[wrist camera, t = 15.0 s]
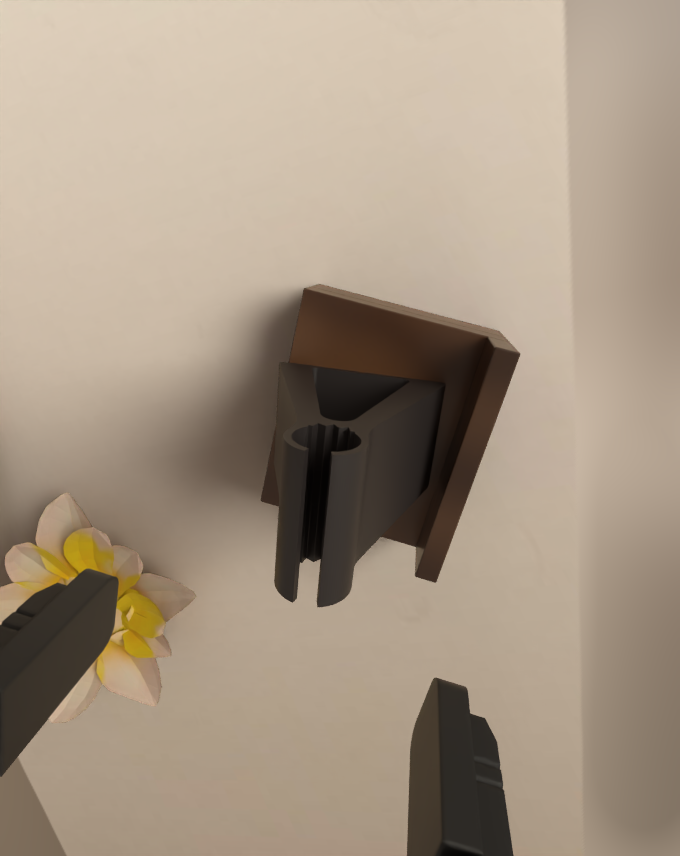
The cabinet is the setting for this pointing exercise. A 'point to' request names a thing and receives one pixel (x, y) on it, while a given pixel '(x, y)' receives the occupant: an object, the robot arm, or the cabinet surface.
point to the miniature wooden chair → (418, 359)
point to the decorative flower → (135, 612)
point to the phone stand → (346, 466)
